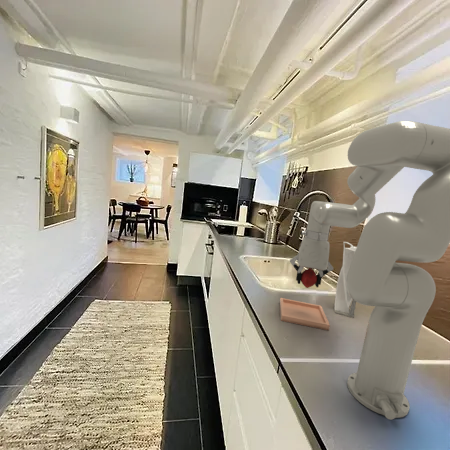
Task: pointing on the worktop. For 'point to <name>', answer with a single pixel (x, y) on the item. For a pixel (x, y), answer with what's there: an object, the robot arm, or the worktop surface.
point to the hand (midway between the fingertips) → (307, 283)
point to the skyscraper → (345, 286)
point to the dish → (303, 314)
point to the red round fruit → (308, 278)
